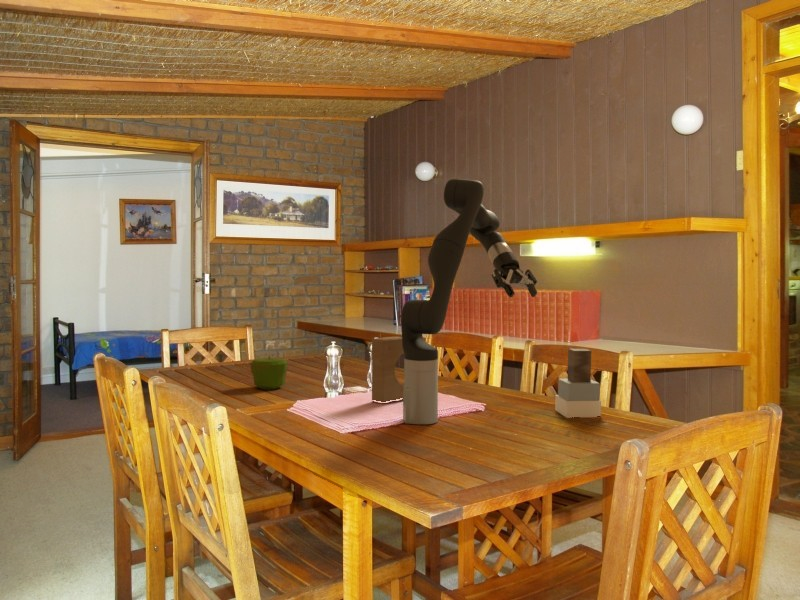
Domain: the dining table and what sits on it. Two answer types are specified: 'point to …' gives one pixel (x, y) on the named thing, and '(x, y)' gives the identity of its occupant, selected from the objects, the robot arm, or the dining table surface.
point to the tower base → (577, 408)
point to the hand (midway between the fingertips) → (523, 295)
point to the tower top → (579, 390)
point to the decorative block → (386, 368)
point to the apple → (269, 372)
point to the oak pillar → (579, 365)
